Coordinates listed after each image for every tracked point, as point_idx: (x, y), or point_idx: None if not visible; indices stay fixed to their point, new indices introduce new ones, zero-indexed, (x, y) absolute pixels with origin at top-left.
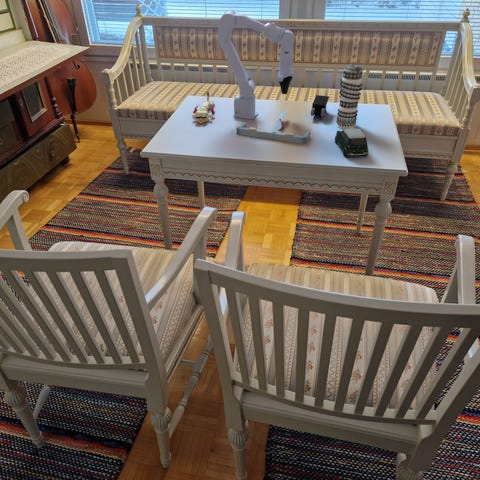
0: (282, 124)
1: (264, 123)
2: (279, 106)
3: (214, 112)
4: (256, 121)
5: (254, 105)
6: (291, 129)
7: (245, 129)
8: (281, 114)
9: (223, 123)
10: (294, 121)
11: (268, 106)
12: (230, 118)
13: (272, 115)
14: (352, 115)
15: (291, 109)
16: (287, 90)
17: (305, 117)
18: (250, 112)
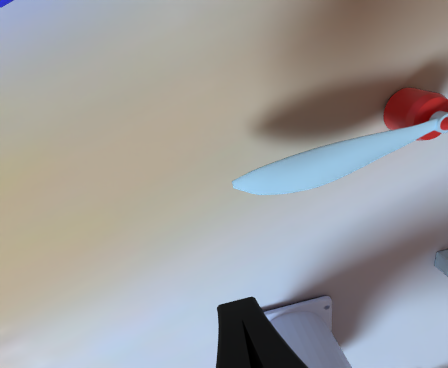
0: (435, 92)
1: (357, 220)
2: (43, 307)
3: None
4: (343, 265)
5: (314, 364)
6: (408, 22)
7: None
8: (317, 178)
9: (407, 344)
10: (254, 78)
11: (93, 346)
12: None
13: (220, 253)
14: None
15: (34, 220)
16: (254, 330)
17: (123, 36)
18: (328, 334)
